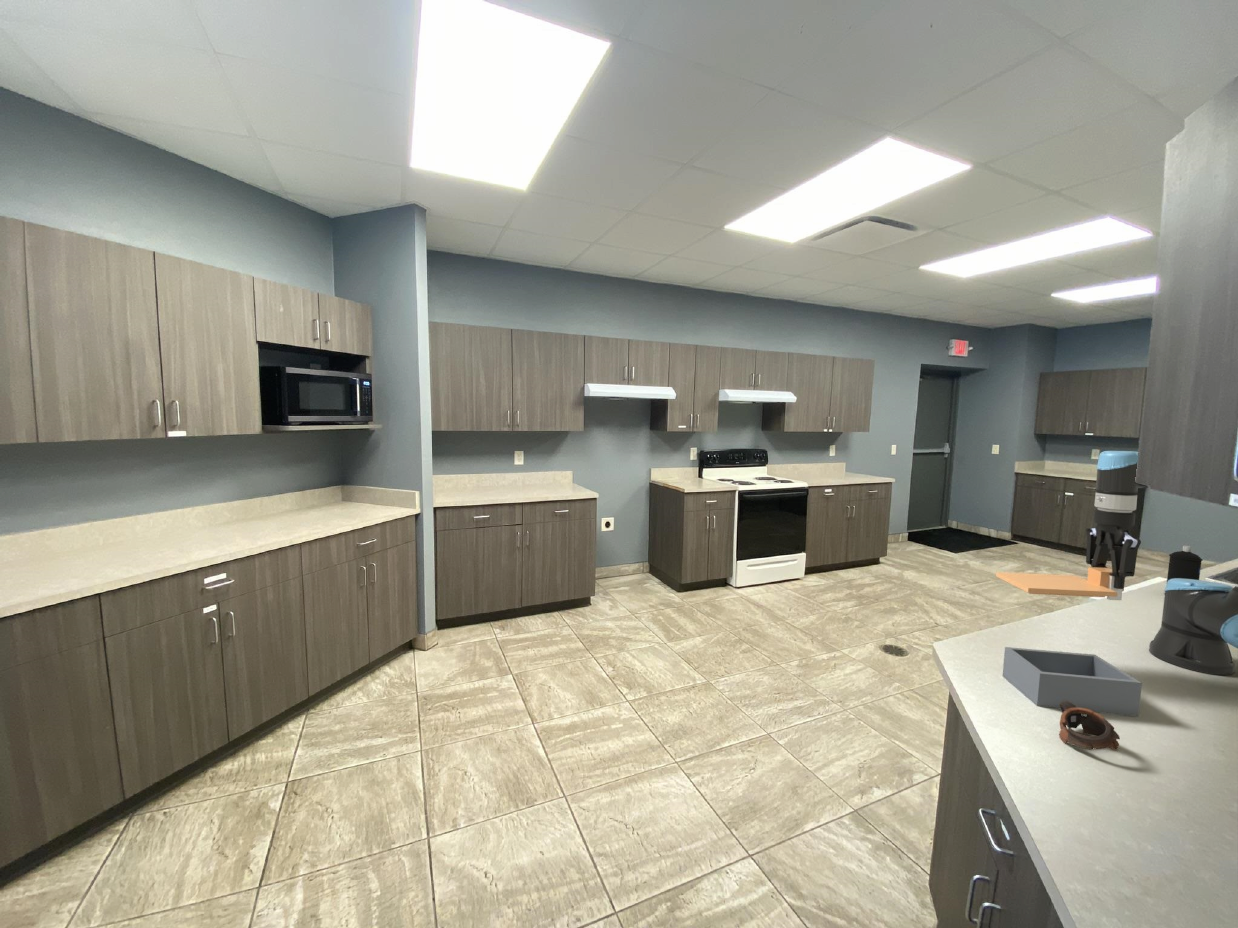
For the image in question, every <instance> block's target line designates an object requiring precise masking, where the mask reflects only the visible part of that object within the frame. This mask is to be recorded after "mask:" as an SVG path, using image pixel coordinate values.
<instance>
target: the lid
mask: <svg viewBox="0 0 1238 928" xmlns="http://www.w3.org/2000/svg"><path fill="white" fill-rule="evenodd" d="M1087 569H1088V570H1087V579H1086V578H1083V577H1081V576H1078V575H1074V574H1073V575H1072V574H1071V575H1070V574H1052V573H1051V574H1046V573H1028V572H1027V573H1026V572H1006V571H1005V572H1001V571H997V572H996V573H995V576H996V578H999V579H1001V580H1003V581H1005V582H1007V583H1008V584H1011V586H1012V585H1013V586H1014V587H1016V588H1018V589H1021V590H1022V591H1024V592H1026V593H1028V594H1031V595H1048V596H1051V595H1052V596H1072V597H1089V598H1090V597H1091V598H1105V597H1107V596H1111V597H1117V592H1116V591H1113V590H1111V589H1108V584H1109V573H1110V574H1112V567H1107V568H1098V567H1091V566H1088V567H1087ZM1118 572H1119V571H1118ZM1124 591H1125V588H1124V589H1122V592H1124Z"/></svg>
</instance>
